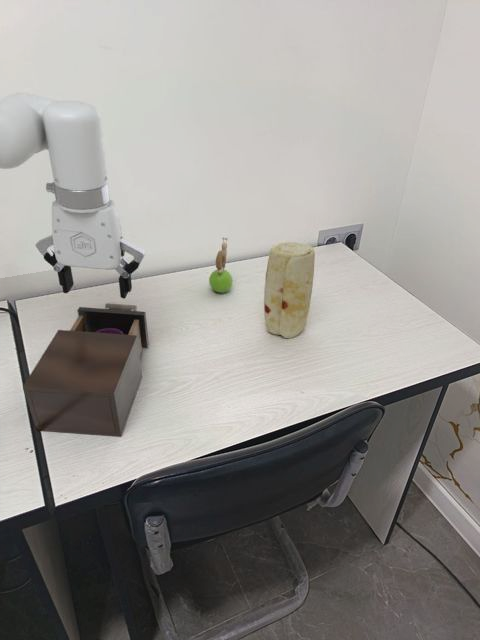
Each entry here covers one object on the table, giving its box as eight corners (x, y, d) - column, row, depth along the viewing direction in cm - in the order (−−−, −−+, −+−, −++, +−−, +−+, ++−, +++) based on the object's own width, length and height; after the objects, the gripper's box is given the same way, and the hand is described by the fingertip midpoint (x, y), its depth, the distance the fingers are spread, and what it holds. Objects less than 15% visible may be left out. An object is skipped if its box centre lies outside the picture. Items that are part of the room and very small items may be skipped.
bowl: (88, 361, 90) (85, 346, 88) (98, 342, 95) (96, 326, 93) (121, 364, 90) (119, 348, 88) (129, 344, 95) (127, 329, 93)
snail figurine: (235, 284, 119) (236, 238, 112) (229, 298, 114) (230, 251, 107) (213, 281, 120) (213, 235, 112) (206, 295, 115) (206, 247, 107)
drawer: (94, 323, 102) (88, 290, 97) (154, 327, 102) (152, 295, 97) (61, 386, 87) (52, 351, 82) (131, 391, 87) (127, 356, 82)
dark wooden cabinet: (68, 371, 91) (58, 329, 85) (142, 377, 91) (137, 335, 85) (36, 430, 79) (22, 386, 74) (121, 436, 80) (113, 393, 74)
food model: (302, 321, 109) (313, 236, 96) (310, 339, 104) (323, 252, 91) (258, 324, 107) (264, 238, 94) (265, 342, 102) (272, 254, 89)
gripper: (14, 197, 71) (37, 298, 81) (134, 209, 71) (142, 308, 82) (35, 179, 77) (54, 276, 87) (146, 190, 77) (152, 285, 88)
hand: (97, 291), depth 85 cm, fingers open, 9 cm apart
